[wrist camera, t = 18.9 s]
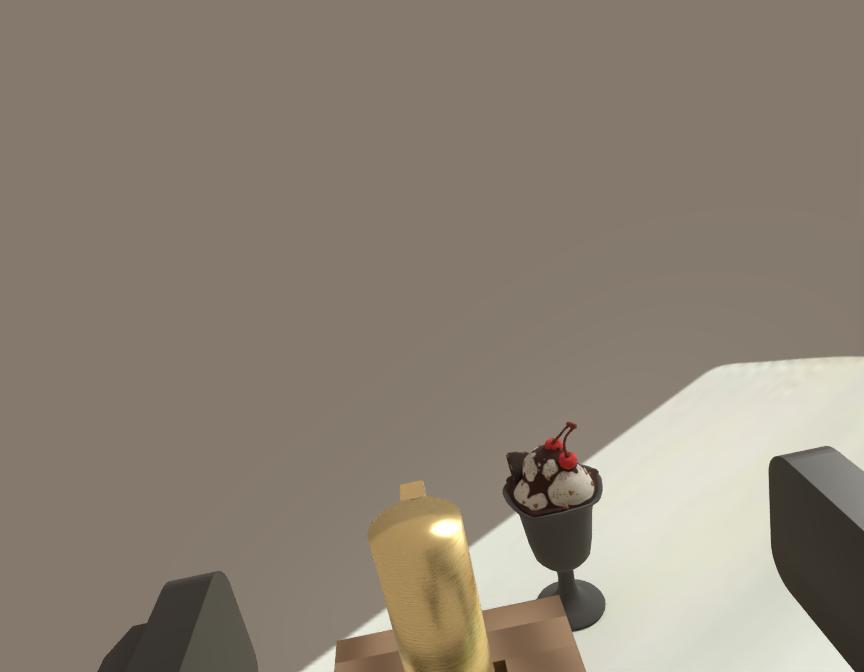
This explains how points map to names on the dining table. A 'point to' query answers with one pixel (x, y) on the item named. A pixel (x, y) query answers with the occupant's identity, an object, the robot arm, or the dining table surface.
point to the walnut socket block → (507, 636)
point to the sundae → (558, 520)
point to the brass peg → (429, 584)
